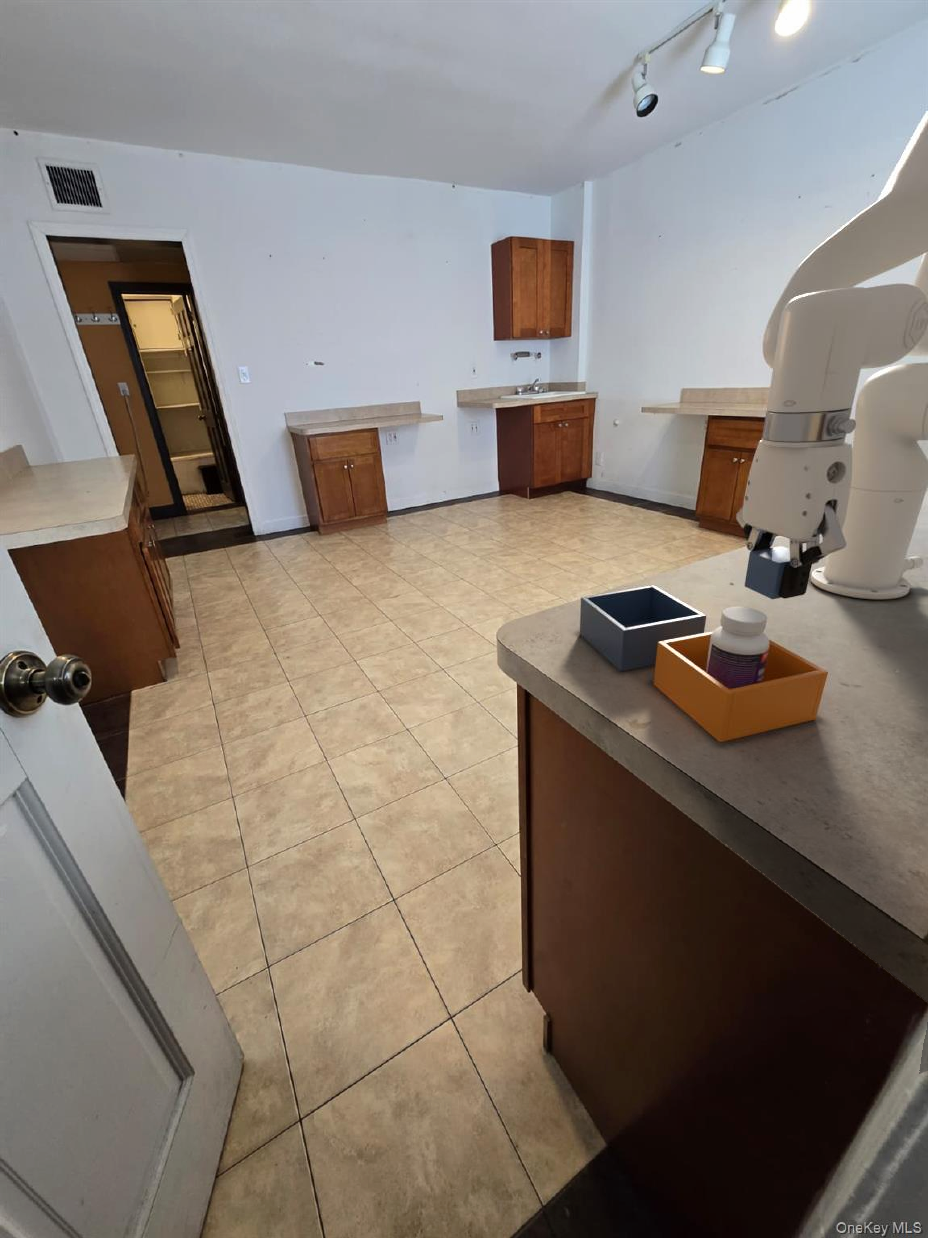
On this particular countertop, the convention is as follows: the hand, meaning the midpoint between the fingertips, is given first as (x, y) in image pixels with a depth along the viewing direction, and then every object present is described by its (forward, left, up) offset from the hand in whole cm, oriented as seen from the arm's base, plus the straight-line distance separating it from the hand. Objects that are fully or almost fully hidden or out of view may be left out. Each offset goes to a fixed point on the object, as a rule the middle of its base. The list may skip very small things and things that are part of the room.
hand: (774, 586), depth 62 cm
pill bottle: (+12, +8, -8) cm, 16 cm away
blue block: (0, 0, 0) cm, 0 cm away
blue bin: (+14, -7, -9) cm, 17 cm away
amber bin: (+12, +8, -9) cm, 17 cm away
